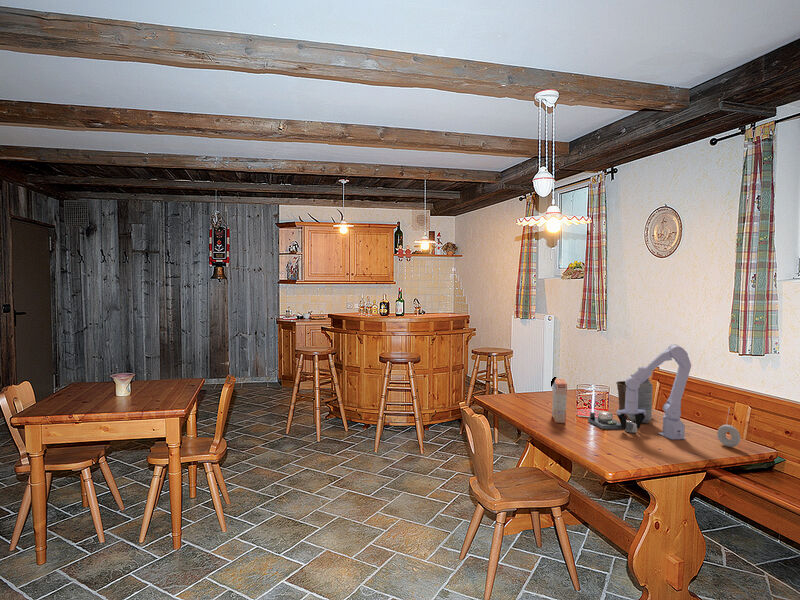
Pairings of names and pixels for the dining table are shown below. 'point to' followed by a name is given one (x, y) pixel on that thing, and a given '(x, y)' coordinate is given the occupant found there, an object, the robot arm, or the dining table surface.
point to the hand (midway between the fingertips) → (630, 428)
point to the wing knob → (631, 427)
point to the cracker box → (559, 401)
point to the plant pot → (621, 394)
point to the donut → (734, 433)
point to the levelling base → (603, 425)
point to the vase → (644, 401)
